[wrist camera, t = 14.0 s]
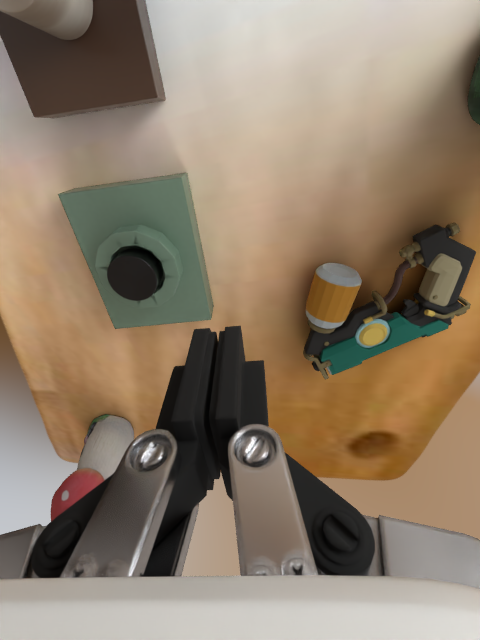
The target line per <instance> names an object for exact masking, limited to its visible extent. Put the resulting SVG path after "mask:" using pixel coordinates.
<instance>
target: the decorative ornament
mask: <svg viewBox="0 0 480 640" xmlns="http://www.w3.org/2000/svg"><path fill="white" fill-rule="evenodd" d="M133 440H134V431H133V428H132V426H131V424H130V422H129V421H127V420H126V419H124V418H121V417H117V416H112V415H107V414H105V415H103V416H99V417H98V418H96V419H94V420H93V421H92V423H91V425H90V427H89V430H88V433H87V435H86V437H85V439H84V443H85V445H84V448H83V450H82V453H81V456H80V460H79V463H78V468H77V471H75V472H73V473H72V474H71V475H70V476H69V477H68V478H67V479H66V480H65V481H64V482H63V483H62V484H61V486H60V487H59V488H58V490H57V491H56V492H55V494H54V496H53V499H52V504H51V522H52V521H53V520H54V519H55V518H56V517H57V516H59V515H60V514H61V513H62V512H64V511H65V510H66V509H68V508H69V507H70V506H72V505H73V504H74V503H76V502H77V501H78V500H79V499H81V498H82V497H83V496H85V495H86V494H87V493H89V492H90V491H91V490H92V489H94V488H95V487H96V486H98V485H99V484H100V483H102V482H103V481H104V480H106V479H107V478H108V477H109V476H111V475H112V474H113V473H114V472H115V470H116V469H117V467H118V465H119V463H120V461H121V459H122V457H123V455H124V453H125V451H126V449H127V448H128V446H129V445H130V443H131V442H132V441H133Z"/></svg>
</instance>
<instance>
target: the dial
mask: <svg viewBox="0 0 480 640" xmlns="http://www.w3.org/2000/svg"><path fill="white" fill-rule="evenodd" d="M0 11H2V12H4V13H6V14H8V15H10V16H12V17H15V18H17V19H19V20H21V21H23V22H25V23H27V24H29V25H32V26H34V27H36V28H38V29H40V30H42V31H44V32H47V33H49V34H51V35H53V36H55V37H57V38H60V39H63V40H73V39H77V38H79V37H80V36H82V35H83V34H84V33H85V32H86V31H87V29H88V27H89V25H90V23H91V20H92V15H93V0H0Z"/></svg>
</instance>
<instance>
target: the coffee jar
mask: <svg viewBox="0 0 480 640" xmlns="http://www.w3.org/2000/svg"><path fill="white" fill-rule="evenodd" d="M468 108H469V113H470V115H471V117H472V119H473V120H474V121H475V122H476V123H477V124H479V125H480V56H479V58H478V61H477V63H476V66H475V69H474V73H473V76H472V80H471V83H470V88H469V94H468Z"/></svg>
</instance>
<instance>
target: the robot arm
mask: <svg viewBox="0 0 480 640" xmlns="http://www.w3.org/2000/svg"><path fill="white" fill-rule="evenodd" d="M220 470H221V473H222V476H223V480H224V484H225V488H226V492H227V495H228V496H229V497H230V498H231V499H232V501H233V505H234V515H235V525H236V535H237V544H238V553H239V564H240V573H241V576H181V575H182V571H183V567H184V563H185V559H186V556H187V552H188V548H189V544H190V540H191V536H192V533H193V529H194V525H195V521H196V517H197V514H198V507H199V502H200V501H201V500H202V499H203V498H204V497H205V496H206V493H207V490H213V485H214V479H219V477H220ZM0 640H480V540H479V539H477V538H474V537H472V536H469V535H466V534H463V533H459V532H454V531H449V530H445V529H440V528H436V527H431V526H427V525H422V524H418V523H413V522H408V521H404V520H399V519H395V518H390V517H386V516H381V515H379V517H378V518H374V517H370V516H365V515H362V514H360V512H359V511H358V510H357V509H356V508H354V507H353V506H352V505H351V504H349V503H348V502H347V501H345V500H344V499H343V498H342V497H340V496H339V495H338V494H336V493H335V492H334V491H333V490H332V489H330V488H329V487H328V486H327V485H325V484H324V483H323V482H322V481H320V480H319V479H318V478H317V477H315V476H314V475H313V474H312V473H310V472H309V471H308V470H307V469H305V468H304V467H303V466H301V465H300V464H299V463H298V462H296V461H295V460H294V459H293V458H291V457H290V456H289V455H288V454H286V453H285V452H284V449H283V445H282V442H281V440H280V437H279V435H278V434H277V433H276V432H275V431H274V430H273V429H271V428H269V425H268V410H267V395H266V382H265V370H264V360H262V361H247V362H245V355H244V347H243V339H242V332H241V326H232V327H225V331H220V333H219V341H218V339H217V334H216V332H211V330H210V328H206V329H195V330H194V332H193V336H192V340H191V344H190V348H189V352H188V356H187V360H186V364H185V366H175V367H174V369H173V372H172V375H171V378H170V382H169V385H168V389H167V392H166V395H165V399H164V402H163V405H162V409H161V412H160V416H159V419H158V422H157V426H156V429H153V430H150V431H146V432H144V433H142V434H141V435H139V436H138V437H136V438H135V439H134V440H133V441H132V442H131V443H130V445H129V446H128V448H127V449H126V451H125V453H124V455H123V457H122V459H121V461H120V463H119V465H118V467H117V469H116V470H115V472H114V473H113V474H112V475H111V476H109V477H108V478H107V479H106V480H104V481H103V482H102V483H100V484H99V485H98V486H96V487H95V488H94V489H92V490H91V491H90V492H89V493H87V494H86V495H85V496H83V497H82V498H81V499H79V500H78V501H77V502H76V503H74V504H73V505H72V506H70V507H69V508H68V509H66V510H65V511H64V512H62V513H61V514H60V515H59V516H57V517H56V518H55V519H54V520H53V521H52V522H50V523H49V524H48V525H47V526H44V527H43V526H41V525H40V524H38V525H34V526H30V527H27V528H24V529H20V530H16V531H13V532H9V533H5V534H2V535H0Z"/></svg>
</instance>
